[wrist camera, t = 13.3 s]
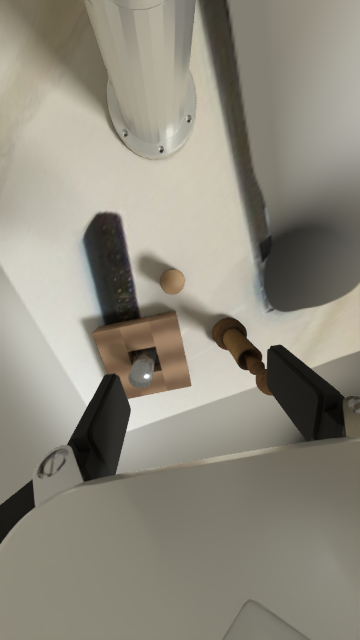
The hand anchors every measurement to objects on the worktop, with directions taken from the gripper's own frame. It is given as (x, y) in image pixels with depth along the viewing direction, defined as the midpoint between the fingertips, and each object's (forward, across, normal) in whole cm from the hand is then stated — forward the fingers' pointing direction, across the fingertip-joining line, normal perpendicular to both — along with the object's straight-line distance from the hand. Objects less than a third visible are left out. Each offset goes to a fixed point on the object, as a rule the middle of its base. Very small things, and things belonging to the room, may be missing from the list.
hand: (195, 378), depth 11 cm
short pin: (+25, 0, -2) cm, 25 cm away
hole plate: (+25, +9, +12) cm, 29 cm away
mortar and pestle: (+25, -9, +10) cm, 29 cm away
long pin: (+25, +9, +12) cm, 29 cm away
